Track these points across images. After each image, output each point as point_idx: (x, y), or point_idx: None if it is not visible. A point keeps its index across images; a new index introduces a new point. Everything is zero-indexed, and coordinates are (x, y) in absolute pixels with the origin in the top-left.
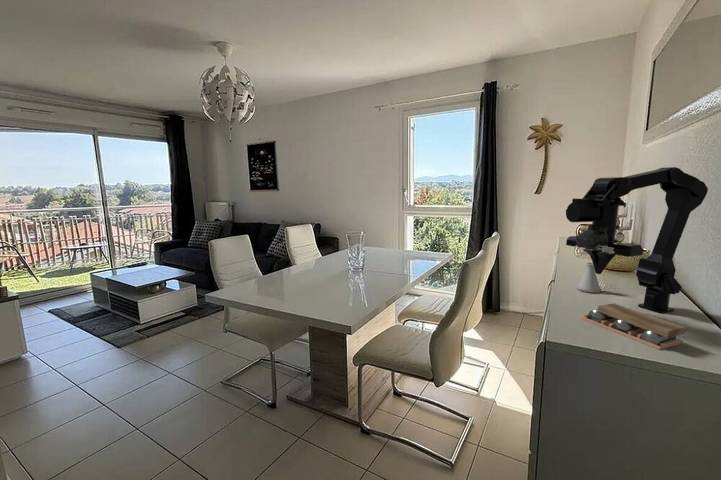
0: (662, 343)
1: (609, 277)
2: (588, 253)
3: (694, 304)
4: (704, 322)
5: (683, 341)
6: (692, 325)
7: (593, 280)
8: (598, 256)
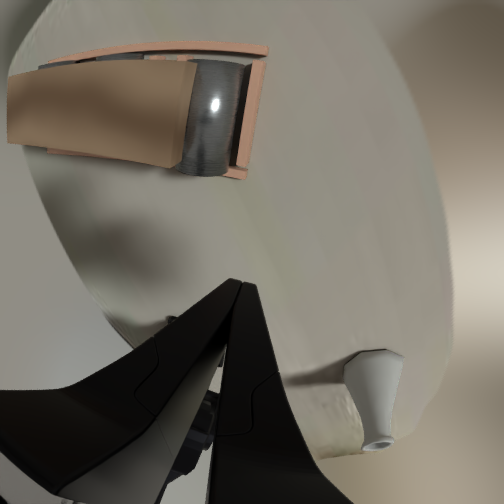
0: None
1: (350, 438)
2: (330, 497)
3: None
4: (112, 315)
5: (48, 151)
6: (105, 282)
7: (362, 394)
8: (211, 459)
